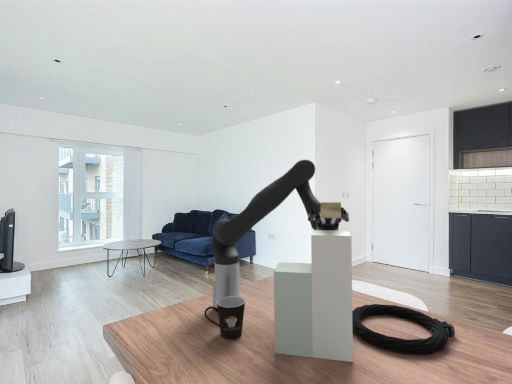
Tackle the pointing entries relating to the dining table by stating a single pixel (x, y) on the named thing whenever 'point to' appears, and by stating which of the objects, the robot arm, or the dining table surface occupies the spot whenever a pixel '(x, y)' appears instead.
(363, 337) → the cable lock
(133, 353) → the dining table surface
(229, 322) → the coffee mug
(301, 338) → the riser
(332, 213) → the block
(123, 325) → the dining table surface
